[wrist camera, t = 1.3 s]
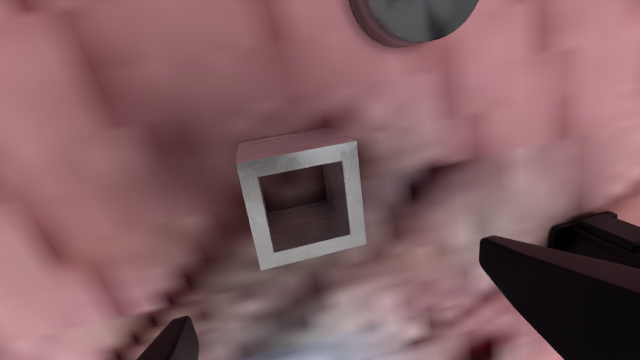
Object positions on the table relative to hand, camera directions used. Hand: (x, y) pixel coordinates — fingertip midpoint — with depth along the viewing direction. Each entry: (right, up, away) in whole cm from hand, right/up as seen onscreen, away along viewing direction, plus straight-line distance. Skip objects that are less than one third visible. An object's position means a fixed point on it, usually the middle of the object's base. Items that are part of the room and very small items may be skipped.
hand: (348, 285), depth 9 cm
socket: (-3, +3, +10) cm, 11 cm away
